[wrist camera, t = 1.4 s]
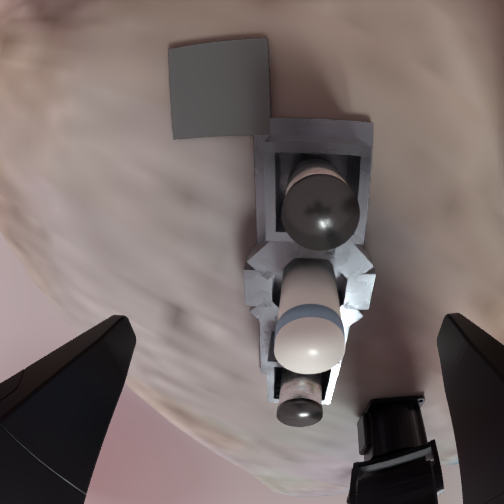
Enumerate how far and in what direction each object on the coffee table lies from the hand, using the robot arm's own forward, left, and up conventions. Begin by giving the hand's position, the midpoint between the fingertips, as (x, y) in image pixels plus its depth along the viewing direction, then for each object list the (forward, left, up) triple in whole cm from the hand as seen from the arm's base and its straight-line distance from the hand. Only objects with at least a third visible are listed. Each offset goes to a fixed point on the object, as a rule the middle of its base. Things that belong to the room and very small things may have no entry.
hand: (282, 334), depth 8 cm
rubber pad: (+4, -7, -12) cm, 15 cm away
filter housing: (-1, +6, -12) cm, 14 cm away
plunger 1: (-1, -1, -10) cm, 10 cm away
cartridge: (-1, +6, -12) cm, 13 cm away
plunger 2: (-1, +13, -10) cm, 16 cm away
